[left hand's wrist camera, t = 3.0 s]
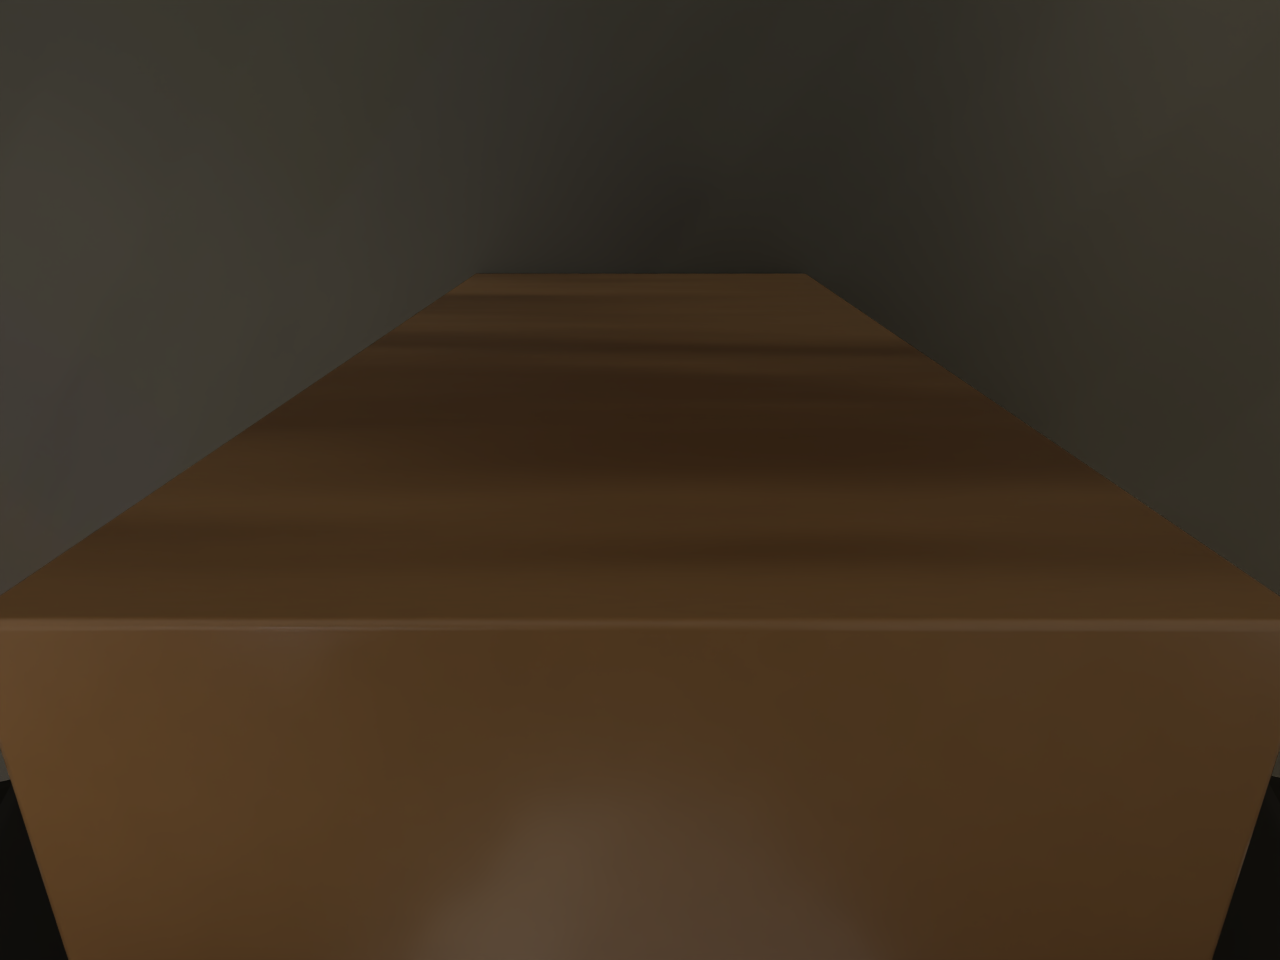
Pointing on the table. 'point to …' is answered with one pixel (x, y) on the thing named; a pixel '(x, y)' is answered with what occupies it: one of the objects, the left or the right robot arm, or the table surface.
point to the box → (640, 662)
